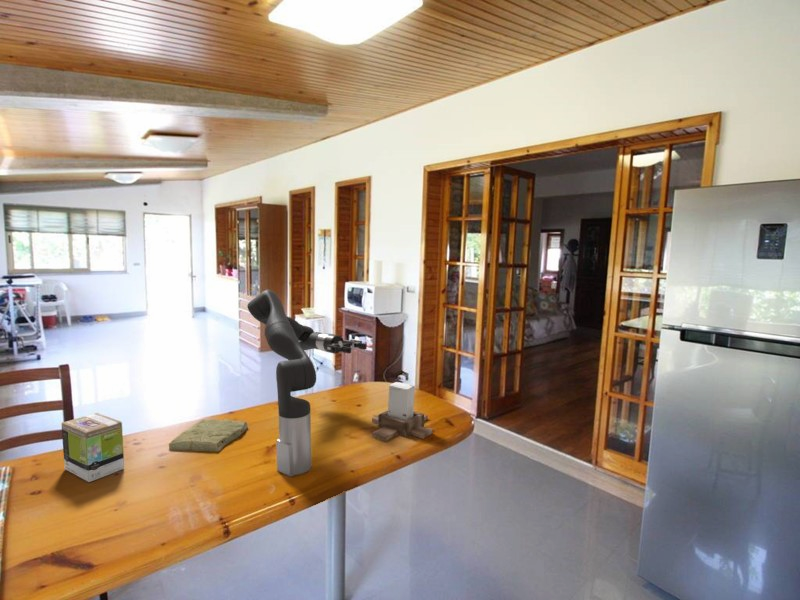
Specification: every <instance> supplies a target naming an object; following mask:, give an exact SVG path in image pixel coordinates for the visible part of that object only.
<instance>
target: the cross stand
mask: <svg viewBox="0 0 800 600" xmlns="http://www.w3.org/2000/svg"><path fill="white" fill-rule="evenodd" d="M428 419H429V418H428V415H427V414H424V413H421V412H417V411H413V418H411V419H409V420H407V421H404V420H400V419H397V418H394V417H391V416H388V410H385V411H384V412H381V413H378V415H376V416H374V417H372V418H371V422H372V423H374V424H377V426H378V428H379V429H377V430H375V431H372V432H371V437H372V438H374V439H377V440H380V441H383V442H387V441H389V440H390V439H393V438H394V437H396V436H398V435H400V436H402V437H405V438H407V437H408V436H413V437H415V438H420V439H423V440H424V439H425V438H426V437H428V436H430V435H432V434H433V429H432V428H429V427H428V426H427V427H426V426H425V421H426V420H428Z"/></svg>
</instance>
